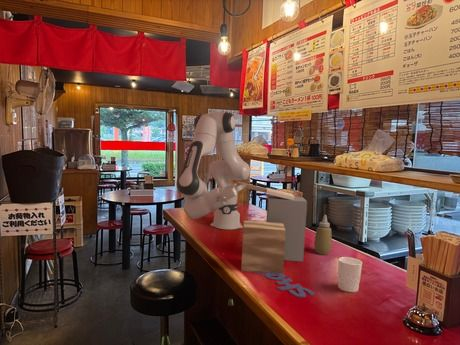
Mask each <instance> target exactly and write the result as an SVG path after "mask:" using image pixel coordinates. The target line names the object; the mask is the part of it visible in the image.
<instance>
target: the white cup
mask: <svg viewBox="0 0 460 345" xmlns="http://www.w3.org/2000/svg"><path fill="white" fill-rule="evenodd" d="M337 264H338V265H337V266H338V267H337V287H338V289H340V290H341V291H344V292H348V293H356V292H358V291H359V286H360V281H361V276H362V275H361V274H362V267H363V261H362V260H360V259H358V258H354V257H351V256H350V257H348V256H342V257H339V258H338V262H337Z"/></svg>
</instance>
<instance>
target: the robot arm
mask: <svg viewBox="0 0 460 345" xmlns="http://www.w3.org/2000/svg"><path fill="white" fill-rule="evenodd" d="M193 126H194V133H193V138H192V142H191V144H190V145H189V148H188V151H187V154H186V158H185V161H184V165H183V167H182V170H181V172H180V173H179V175H178V177H177V179H176V188H177V190H178V191H179V193H180V194H183V195H185V202H184V204H183V206H182V207H183V208H182V209H183V211H184V213H185V214H186V216H187V217H188V218H190V219H193V220H195V219H199V218H202V217H204V216H206V215H208V214H210V213H211V212H213V211H214V215H213V216H214V217H213V222H211V223H210V226H211V227H213V228H217V229H221V230H237V229H244V226H243V225H242V223H241V222H240V220H241V219H240V212H239V211H238V208H239V205H238V193H239V192H240V191H241V190H243V189H246V188H245V187H246V184H247V183H246V181H245V180H248V179H249V177H250V175H251V167H250V165H249V164H248V163H247V162H246V161H244V160H243V159H242V157H241V156H240V154H239V153H238V151H237V148H236V144H235V136H234V130H235V129H236V118H235V115H234V114H233V113H232V112H227V111H226V112H215V111H214V112H209V113H208V112H207V113H201V114H198V115H196V117H195V118H194V120H193ZM214 149H215V152H216V155H217V156H219V158H221V159H222V160H221V159H218V160H212V162H211V163H210V164H209V166H208V172H209V175H210V176H211V177H212V178H213V179H214V181H215V183H216V185H217V187H214V188H213V189H211V190H209V191H208V187H207V184H206V183H205V182H204V181H203V180H202V179H201V178H200V177H199V175H198V170H199V167H200V166H199V165H200V162H201V158H202V157H203V156H204V157H205V156H209V155H211V154H212V153H213V152H214ZM231 181H237V182H240V181H243V182H242V183H243V184H241V185H239V186H237V184H238V183H232V182H231ZM245 183H246V184H245Z"/></svg>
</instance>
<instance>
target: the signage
mask: <svg viewBox="0 0 460 345" xmlns="http://www.w3.org/2000/svg"><path fill="white" fill-rule="evenodd" d="M252 273H254V274H256V273H257V274H260V275H261V277H262V276H263V277H265V278H267V279H268V280H270V281H272V280H273V281H275V284H277V285H278V287H276V289H277V290H279V291H281V292H283V291H287V290H288V292H289V293H290V294H291V295H293V296H295V297H297V298H302V299H303V298H306V296H307V294H308V295H310V296H315V295H316V293H315V292H314V291H312V290H311V289H310V288H307V287H303V285H301V284H300V283H296V284H295V283H294V284H291V282H293V280H292V279H291V278H290V277H289V276H288V275H285V274H284V273H283V274H282V273H274V272H266V273H265V272H257V271H252ZM293 289H296V291H297V292H296V291H295V290H293ZM306 293H307V294H306Z"/></svg>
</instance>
